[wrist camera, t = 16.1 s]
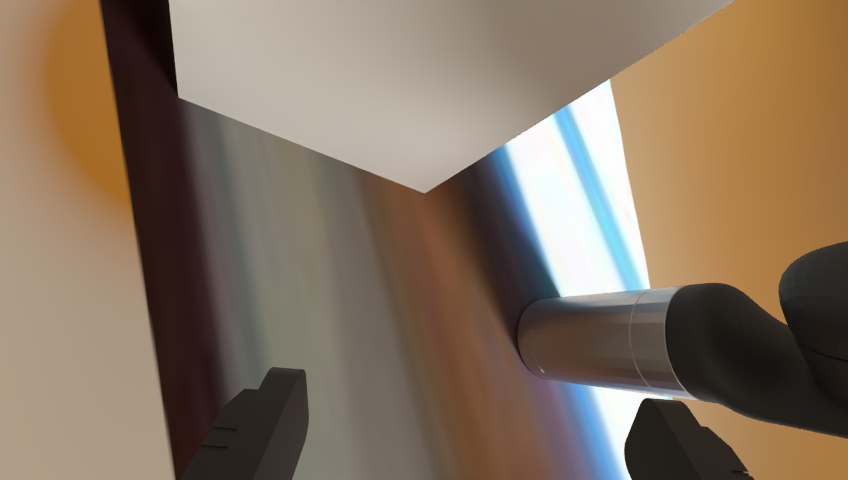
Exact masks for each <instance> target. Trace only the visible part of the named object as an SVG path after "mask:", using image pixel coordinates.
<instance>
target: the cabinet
mask: <svg viewBox="0 0 848 480" xmlns="http://www.w3.org/2000/svg"><path fill="white" fill-rule="evenodd" d="M733 1H735V0H169V8H170V18H171V28H172V38H173V48H174V58H175V68H176V77H177V87H178V97H179V98H181V99H184V100H186V101H189V102H192V103H194V104H197V105H199V106H202V107H204V108H207V109H210V110H212V111H215V112H217V113H220V114H222V115H225V116H227V117H230V118H233V119H235V120H238V121H240V122H243V123H245V124H248V125H251V126H253V127H256V128H258V129H261V130H263V131H266V132H268V133H271V134H274V135H276V136H279V137H281V138H284V139H286V140H289V141H292V142H294V143H297V144H299V145H302V146H304V147H307V148H309V149H312V150H315V151H317V152H320V153H322V154H325V155H327V156H330V157H333V158H335V159H338V160H340V161H343V162H345V163H348V164H350V165H353V166H356V167H358V168H361V169H363V170H366V171H368V172H371V173H374V174H376V175H379V176H381V177H384V178H386V179H389V180H391V181H394V182H397V183H399V184H402V185H404V186H407V187H409V188H412V189H415V190H417V191H420V192H422V193H426V192H428V191H429V190H431V189H433V188H434V187H436V186H437V185H439V184H441V183H442V182H444V181H446V180H447V179H449V178H450V177H452V176H454V175H455V174H457V173H458V172H460V171H462V170H463V169H465V168H466V167H468V166H470V165H471V164H473V163H475V162H476V161H478V160H479V159H481V158H483V157H484V156H486V155H487V154H489V153H491V152H492V151H494V150H495V149H497V148H499V147H500V146H502V145H503V144H505V143H507V142H508V141H510V140H512V139H513V138H515V137H516V136H518V135H520V134H521V133H523V132H524V131H526V130H528V129H529V128H531V127H532V126H534V125H536V124H537V123H539V122H540V121H542V120H544V119H545V118H547V117H549V116H550V115H552V114H553V113H555V112H557V111H558V110H560V109H561V108H563V107H565V106H566V105H568V104H569V103H571V102H573V101H574V100H576V99H578V98H579V97H581V96H582V95H584V94H586V93H587V92H589V91H590V90H592V89H594V88H595V87H597V86H598V85H600V84H602V83H603V82H605V81H606V80H608V79H610V78H611V77H613V76H615V75H616V74H618V73H619V72H621V71H622V70H624V69H626V68H627V67H629V66H631V65H632V64H634V63H635V62H637V61H639V60H640V59H642V58H643V57H645V56H646V55H648V54H650V53H651V52H653V51H655V50H656V49H658V48H660V47H661V46H663V45H664V44H666V43H668V42H669V41H671V40H672V39H674V38H676V37H677V36H679V35H680V34H682V33H684V32H685V31H687V30H689V29H690V28H692V27H693V26H695V25H697V24H698V23H700V22H701V21H703V20H704V19H706V18H708V17H709V16H711V15H713V14H714V13H716V12H718V11H719V10H721V9H722V8H724V7H725V6H727V5H729V4H730V3H732V2H733Z"/></svg>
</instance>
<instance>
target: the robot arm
mask: <svg viewBox="0 0 848 480" xmlns="http://www.w3.org/2000/svg"><path fill="white" fill-rule="evenodd" d="M779 298H780V304H781V307H782V311H783V314H784V316H785V319H786V322H787V324H788V325H786V324H784V323H782V322H780V321H779V320H777V319H776V318H774V317H773V316H771V315H770V314H769V313H767V312H766V311H765V310H764V309H762V308H761V307H760V306H759V305H758V304H756V303H755V302H754V301H753V300H752V299H751V298H750V297H748V296H747V295H745V294H744V293H743V292H742V291H740V290H739V289H737V288H735V287H732V286H730V285H727V284H722V283H704V284H695V285H687V286H676V287H666V288H655V289H646V290H636V291H625V292H614V293H603V294H593V295H582V296H571V297H559V298H549V299H541V300H537V301H535V302H533V303H531V304H530V305H529V306H528V307H527V308H526V309H525V311H524V312H523V314H522V316H521V319H520V321H519V326H518V333H517V340H518V348H519V351H520V355H521V357H522V359H523V361H524V363H525V365H526V366H527V367H528V369H529V370H530V371H531V372H532V373H533V374H534V375H536V376H538V377H540V378H542V379H547V380H554V381H561V382H568V383H574V384H581V385H589V386H596V387H603V388H610V389H618V390H625V391H632V392H639V393H647V394H654V395H661V396H670V397H677V398H684V399H691V400H699V401H705V402H712V403H718V404H721V405H723V406H725V407H728V408H729V409H731V410H733V411H735V412H737V413H739V414H742V415H744V416H746V417H749V418H752V419H756V420H759V421H764V422H768V423H773V424H779V425H784V426H789V427H794V428H798V429H803V430H808V431H814V432H818V433H823V434H828V435H832V436H837V437H842V438H846V439H848V241H847V242H842V243H837V244H834V245H830V246H826V247H823V248H820V249H817V250H814V251H812V252H809V253H807V254H805V255H804V256H802V257H800V258H798V259H797V260H795V261H794V262H793V263H792V264H790V266H789V267H788V268H787V269H786V271H785V272H784V273H783V275H782V277H781V280H780V284H779ZM308 421H309V412H308V398H307V384H306V373H305V371H304V370H302V369H289V368H277V367H272V368H271V369H270V370H269V371H268V373H267V374H266V376H265V378H264V380H263V382H262V384H261V386H260V388H259V389H258V390H255V389H244V390H242V391H241V392H240V393H239V394H238V395H237V396H236V397H234V398H233V399H232V400H231V401H230V402H229V403H227V404H226V405H225V406H224V408H223V410H222V411H221V413H220V415H219V416H218V418H217V420H216V421H215V423H214V424H213V426H212V430H211V431H209V433H208V434H207V436H206V438H205V439H204V441H203V443H202V444H201V449H200V450H198V451H197V453H196V454H195V456H194V458H193V459H192V461H191V463H190V464H189V466H188V468H187V469H186V471H185V473H184V474H183V476H182V478H181V479H180V480H292V477H293V475H294V472H295V469H296V466H297V463H298V460H299V457H300V454H301V451H302V448H303V446H304V443H305V439H306V435H307V429H308ZM624 454H625V462H626V466H627V469H628V472H629V474H630V477H631V479H632V480H754V479H753V477H751V476H749V474H748V471H747V469H746V468H745V466H744V465H743V463H742V462H741V461H740V459H739V458H738V456H737V455H736V454H735V452H734V451H733V450H732V448H731V447H730V446H729V445H727V444H726V443H725V442H724V441H723V440H722V439H721V438H719V437H718V436H717V435H716V434H715V433H714V432H713V431H711V430H710V429H709V428H708V427H701V426H700V424H699V423H698V421H697V420H696V418H695V417H694V416H693V414H692V413H691V411H690V410H689V408H688V407H687V406H686V405H685V404H684V403H683V402H681V401H676V400H664V399H651V398H646V399H644V400H643V401H642V402H641V404H640V407H639V409H638V412H637V414H636V417H635V419H634V422H633V424H632V427H631V429H630V432H629V434H628V437H627V439H626V442H625V449H624Z"/></svg>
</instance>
